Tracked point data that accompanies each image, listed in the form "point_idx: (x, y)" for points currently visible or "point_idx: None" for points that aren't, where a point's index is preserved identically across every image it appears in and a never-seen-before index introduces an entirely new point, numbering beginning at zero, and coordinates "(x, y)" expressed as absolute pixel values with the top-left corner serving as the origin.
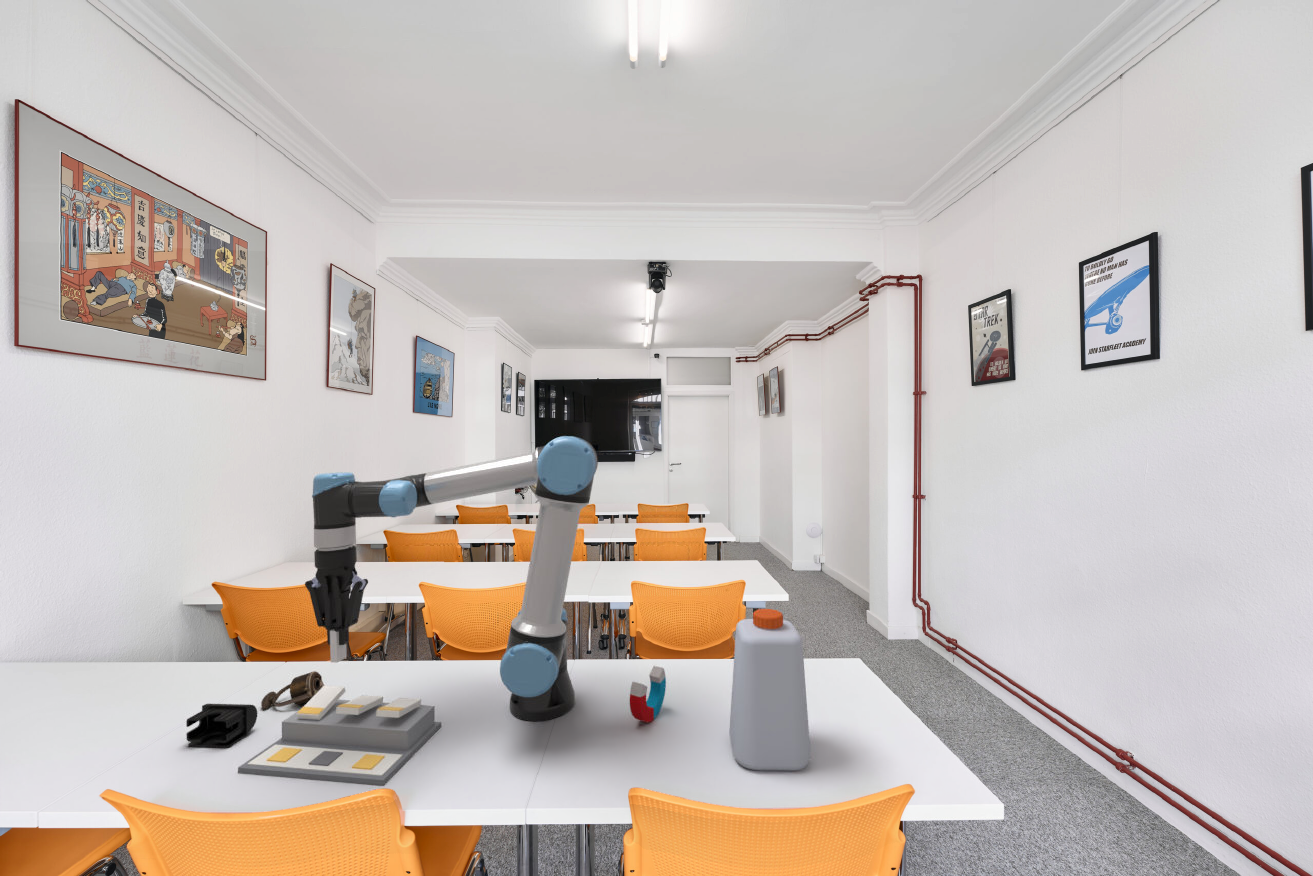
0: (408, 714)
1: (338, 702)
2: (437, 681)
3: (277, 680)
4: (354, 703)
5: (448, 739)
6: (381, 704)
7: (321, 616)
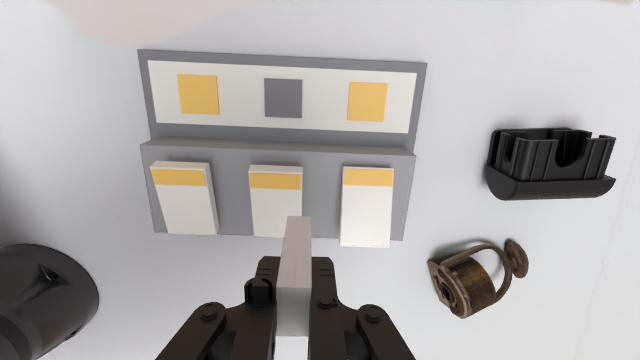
0: None
1: None
2: None
3: (547, 323)
4: (281, 196)
5: (129, 185)
6: None
7: (372, 354)
